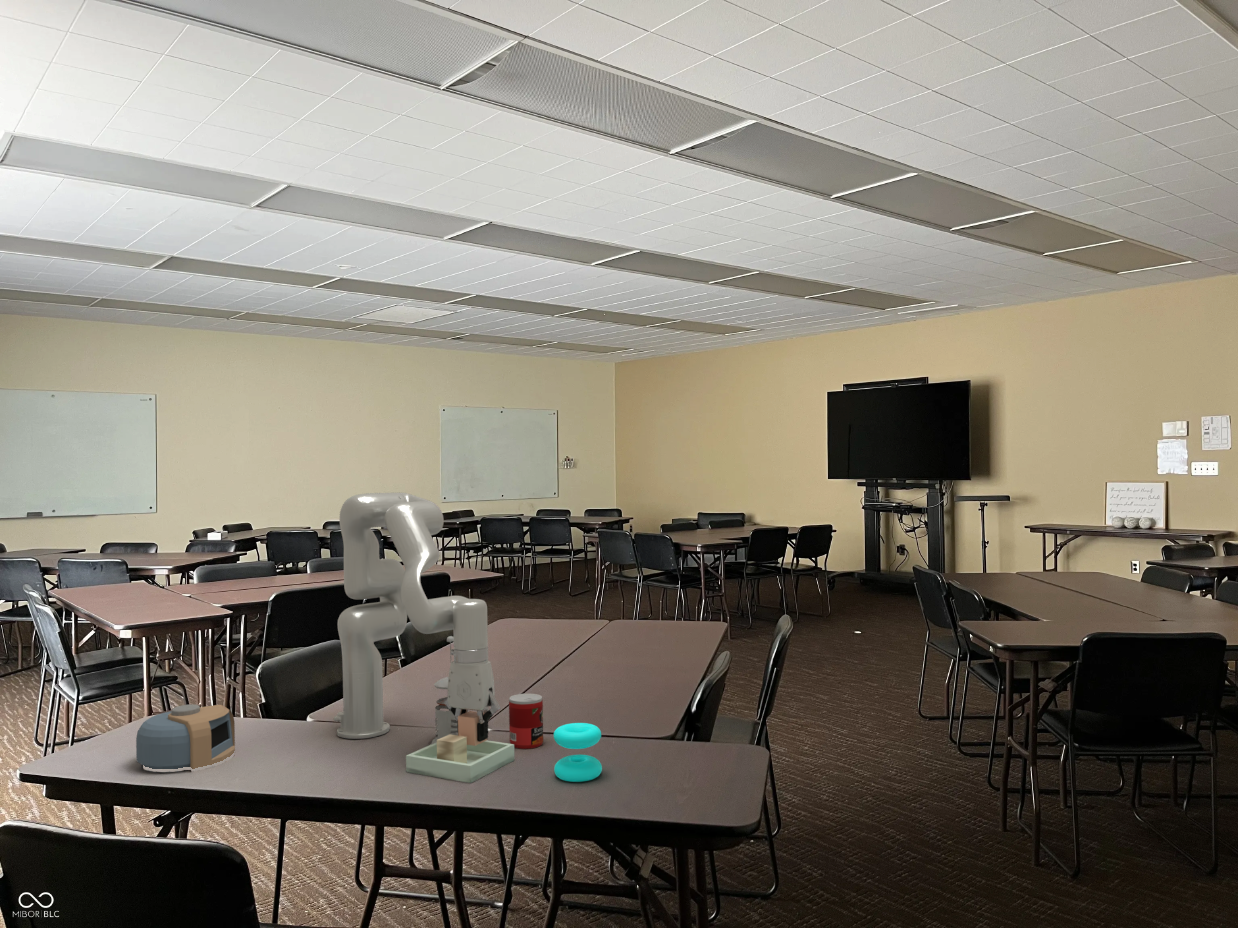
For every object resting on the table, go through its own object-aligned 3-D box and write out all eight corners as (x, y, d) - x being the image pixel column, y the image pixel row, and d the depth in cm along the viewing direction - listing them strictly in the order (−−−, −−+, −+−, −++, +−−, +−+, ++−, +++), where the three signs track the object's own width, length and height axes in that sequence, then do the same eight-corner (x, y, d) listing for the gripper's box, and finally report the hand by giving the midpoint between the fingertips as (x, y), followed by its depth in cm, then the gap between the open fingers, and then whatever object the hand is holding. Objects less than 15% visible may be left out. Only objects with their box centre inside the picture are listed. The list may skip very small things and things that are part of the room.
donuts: (571, 718, 192) (610, 724, 186) (572, 765, 191) (611, 772, 186) (543, 730, 183) (583, 737, 178) (544, 778, 183) (584, 786, 178)
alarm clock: (207, 774, 190) (206, 718, 190) (117, 774, 191) (116, 718, 191) (249, 747, 209) (248, 696, 209) (167, 747, 210) (166, 696, 210)
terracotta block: (458, 743, 194) (457, 715, 194) (470, 737, 198) (470, 710, 198) (475, 745, 192) (474, 717, 192) (487, 739, 196) (486, 712, 196)
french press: (423, 744, 208) (421, 638, 208) (450, 731, 219) (448, 630, 219) (458, 748, 204) (456, 640, 205) (484, 734, 215) (482, 632, 216)
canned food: (538, 749, 202) (537, 701, 203) (505, 748, 204) (504, 700, 204) (547, 740, 210) (546, 693, 210) (515, 738, 212) (514, 692, 212)
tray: (406, 771, 189) (406, 755, 189) (452, 750, 203) (452, 735, 203) (470, 782, 181) (470, 765, 181) (514, 760, 195) (514, 744, 195)
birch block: (437, 768, 188) (436, 739, 188) (450, 761, 192) (449, 734, 192) (454, 770, 186) (453, 742, 186) (467, 764, 190) (466, 736, 190)
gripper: (430, 656, 196) (431, 738, 195) (492, 661, 188) (494, 747, 188) (451, 650, 203) (453, 730, 202) (512, 655, 195) (514, 738, 194)
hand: (473, 737), depth 195 cm, fingers closed on terracotta block, 4 cm apart
